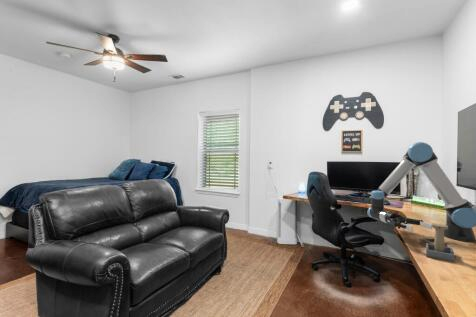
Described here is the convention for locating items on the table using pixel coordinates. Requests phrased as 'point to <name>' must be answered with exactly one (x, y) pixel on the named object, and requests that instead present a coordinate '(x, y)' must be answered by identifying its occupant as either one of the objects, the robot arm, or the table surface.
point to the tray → (440, 253)
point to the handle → (439, 236)
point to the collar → (429, 241)
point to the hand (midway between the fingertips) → (422, 227)
